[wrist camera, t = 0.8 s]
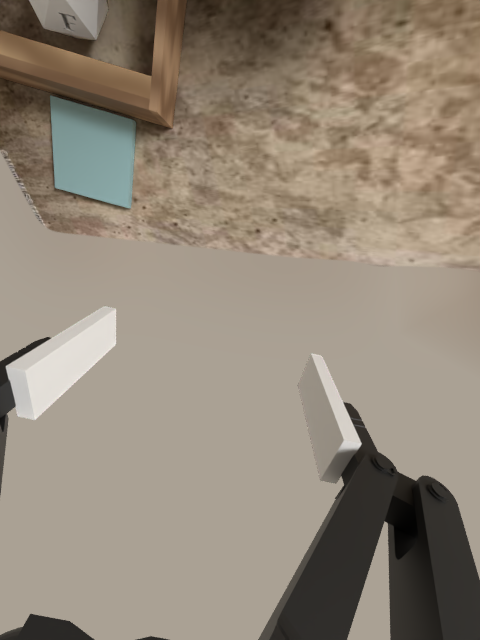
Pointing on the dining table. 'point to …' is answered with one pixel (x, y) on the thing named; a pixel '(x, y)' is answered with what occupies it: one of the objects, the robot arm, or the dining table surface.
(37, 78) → the wooden tray
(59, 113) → the pad
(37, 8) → the die
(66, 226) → the dining table surface
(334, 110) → the dining table surface
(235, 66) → the dining table surface
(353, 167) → the dining table surface
